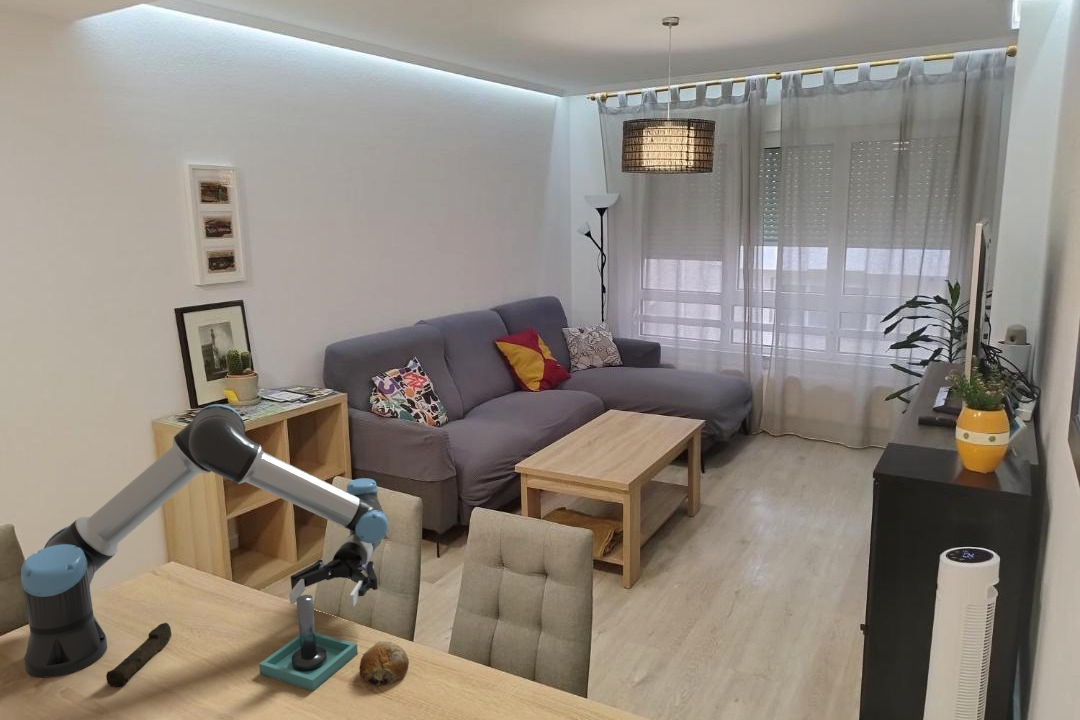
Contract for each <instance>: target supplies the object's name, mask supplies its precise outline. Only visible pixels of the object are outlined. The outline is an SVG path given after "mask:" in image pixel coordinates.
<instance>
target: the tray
mask: <svg viewBox="0 0 1080 720" xmlns="http://www.w3.org/2000/svg"><path fill="white" fill-rule="evenodd" d="M315 635H316V646H319V647H322V648H324V649H325V650H326V655H327V661H326V663H325V664H324V665H323V666H322V667H320V668H318V669H316V670H313V671H307V672H302V671H297V670H295V669H294V668H293V666H292V656H293V654H294V653H295V652H296V651H298V650H299V649H300V637H299V634H298V635H296V636H295V637H294V638H293V639H291V640H290V641H288V642H287V643H286V644H284V645H283V646H282V647H280V648H279V649H277V650H276V651H275V652H273V653H271V654H270V655H269V656H268V657H266V658H265V659H264V660H262V661H261V662H259V664H258V665H259V666H258V667H259V674H260V675H262V676H265V677H269V678H271V679H274V680H278V681H279V682H280V681H281V682H284V683H287V684H289V685H293V686H296V687H300V688H303V689H306V690H309V691H312V692H314V691H315V690H316V689H318V688H319V687H320V686H322V685H323V684H324V683H325V682H326V681H328V680H329V679H330V678H331V677H333V676H334V674H336V673H337V672H338V671H340V670H341V669H342V668H343V667H344V666H345V665H347V664H348V663H349V662H350V661H351V660H353V659H354V658H356V656H358V654H359V652H358V644H357V643H355V642H351V641H347V640H344V639H341V638H336V637H333V636H330V635H327V634H322V633H319V632H316V631H315Z"/></svg>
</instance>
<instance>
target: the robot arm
mask: <svg viewBox="0 0 1080 720" xmlns="http://www.w3.org/2000/svg"><path fill="white" fill-rule="evenodd" d="M211 472H212V473H214V474H217V475H218V476H221V477H222V478H225V479H227V480H230V481H232V482H234V483H236V484H238V485H240V484H243V483H247V484H249V485H252V486H253V487H256V488H259V489H260V490H263V491H265V492H266V493H269V494H271V495H274V496H276V497H277V498H280V499H282V500H284V501H286V502H289V503H291V504H293V505H295V506H298V507H299V508H301V509H304V510H306V511H308V512H309V513H313V514H314V515H317V516H319V517H321V518H324V519H325V520H327V521H329V522H332V523H334V524H336V525H338V526H341V527H343V528H346V529H348V530H349V535H348V537H347V538H346V539H345V541H344V542H343V543H342V544H341V546H340V547H339V548H338V550H337V551H336V553H335V554H334V555H333V558H332V560H331V561H329V562H328V563H327V562H326V563H325V562H323V559H317V561H316V562H314V563H313V564H312V565H310V566H307V567H306V568H303V569H301V570H300V571H297V572H296V573H294V574H292V575H291V576H290V586H291V590H290V592H289V605H295V603H297V601H296V599H297V598H298V597H300V596H302V595H303V593H304V592H305V591H306V587H310V586H312V585H314V584H317V583H320V582H322V581H331V580H333V579H338V578H339V579H340V578H341V579H342V578H343V579H347V578H349V579H350V580H351V581H352V582H355V583H356V585H355V586H354V588H353V589H352V591H351V592H350V594H349V599H350V601H349V603H350V607H355V605H356V604H357V603H358V601H359V599H360V598H361V597H364V596H365V595H366V594H367V592H368V591H369V590H370V589H372V590H373V591H377V590H378V589H379V588H378V586H379V585H378V578H377V577H378V576H377V575H376V572H375V570H374V569H375V568H374V567H375V565H374V561H372V560H370V559H371V557H372V555H373V554H374V552H375V551H376V549H377V548H378V547H379V546H380V545H381V543H382V540H383V539H384V538H385V537H386V535H387V532H388V530H389V523H388V518H387V515H386V513H385V512H384V510H383V508H382V505H381V503H380V500H379V499H378V492H379V490H378V488H377V482H376V481H375V480H374V479H371V478H368V477H367V478H357V479H353V480H351V481H349V482H348V484H347V485H346V491H345V490H344V489H341V488H339V487H338V486H335V485H333V484H331V483H329V482H327V481H324V480H323V479H320V478H318V477H317V476H314V475H312V474H311V473H308V472H306V471H304V470H302V469H300V468H298V467H296V466H294V465H292V464H289V463H288V462H286V461H283V460H281V459H280V458H277V457H275V456H273V455H271V454H269V453H267V452H265V451H264V450H263V448H262V445H261V444H259V443H257V442H255V441H253V440H251V439H250V438H249V437H247V436H246V425H245V421H244V420H243V418H242V416H241V414H240V413H239V412H238V411H237V410H236V409H235V408H234V407H233V408H232V407H231V406H228V405H226V404H219V403H215V404H209V405H208V406H205V407H203V408H202V409H200V410H199V411H197V412H196V414H194V416H193V419H192V420H191V422H189V423H188V424H187V425H186V426H184V428H182V429H181V430H180V431H179V432H177V434H175V435H174V436H173V439H172V447H170V448H169V449H168V450H167V451H166V452H165V453H164V454H162V455H161V456H160V457H158V458H157V459H156V460H155V461H154V462H153V463H152V464H151V465H149V466H148V467H147V468H146V469H145V470H144V471H143V472H141V473H140V474H139V475H137V477H135V478H134V479H133V480H132V481H131V482H129V483H128V484H127V485H126V486H125V487H124V488H122V489H121V490H120V491H119V492H117V494H115V495H114V496H113V497H111V499H109V501H107V502H106V503H105V504H104V505H103V506H101V507H100V508H99V509H98V510H97V511H95V512H94V513H93V514H92V515H91V516H79V517H78V518H77V519H76V520H74V521H73V522H72V523H71V524H70V525H68V526H65V527H64V528H61V529H59V530H58V531H57V532H55V533H54V534H53V535H52V536H51V537H50V538H49V539H48V540H47V542H46V543H45V545H44V547H43V548H42V549H40V550H38V551H37V553H32V554H30V556H28V557H27V558H26V559H25V560H24V562H23V564H22V565H21V569H20V572H21V573H20V574H21V575H20V581H21V582H20V583H21V586H22V590H23V596H24V602H25V607H26V613H27V619H28V620H27V621H28V625H29V632H30V633H29V637H28V642H27V646H26V651H25V656H24V666H25V670H26V672H27V673H28V674H30V675H31V676H34V677H38V678H51V677H52V678H53V677H60V676H65V675H68V674H72V673H75V672H77V671H79V670H82V669H85V668H86V667H89V666H90V665H93V664H94V663H95V662H97V661H98V660H99V659H101V658H102V657H103V656H104V655H105V653H106V652H107V651H108V641H107V636H106V634H105V632H104V630H103V629H102V627H101V625H100V624H99V622H98V620H97V619H96V617H95V615H94V609H93V602H92V596H91V583H92V580H93V579H94V575H95V573H96V572H97V571H98V570H99V569H100V568H101V567H103V566H104V565H105V564H106V563H107V562H109V560H111V559H112V558H113V557H114V556H115V555H117V554H118V551H119V550H118V549H119V543H120V542H121V541H122V540H124V538H126V537H127V536H128V535H129V534H131V533H132V532H133V531H134V530H135V529H136V528H138V526H139V525H141V524H143V523H144V522H145V520H147V519H148V518H149V517H151V515H152V514H153V513H155V512H156V511H157V510H158V509H160V508H161V507H162V506H163V505H165V503H166V502H167V501H169V500H170V499H171V498H172V497H173V496H174V495H175V494H177V493H178V492H179V491H180V490H181V489H182V488H184V487H185V486H186V485H187V484H188V483H190V481H192V480H193V479H194V478H195V477H197V476H198V475H199V474H211ZM369 560H370V561H369ZM363 571H364V573H365V575H367V576H365V575H364V573H362V572H363Z"/></svg>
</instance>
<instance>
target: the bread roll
mask: <svg viewBox="0 0 1080 720" xmlns="http://www.w3.org/2000/svg"><path fill="white" fill-rule="evenodd" d="M409 663H410V660H409V657H408V654H407V653H406V651H405V650H404V648H402V647H401V646H400V645H398V644H396V643H395V642H392V641H386V640H385V641H381V640H380V641H378V642H377V643H375V644H374V645H372V646H371V647H370V648H369V649H368V650H366V651H365V652H364V653H363V655H362V657H361V658H360V662H359V668H358V669H359V677H360V678H361V680H362V681H363V682H364V683H366V684H369V685H372V686H377V687H382V686H387V685H390V684H393V683H395V682H397V681H400V680H402V678H404V677H405V676H406V674H407V671H408V669H409V665H410V664H409Z"/></svg>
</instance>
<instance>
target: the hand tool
mask: <svg viewBox="0 0 1080 720" xmlns="http://www.w3.org/2000/svg"><path fill="white" fill-rule="evenodd" d="M171 638H172V629H171V626H170V624H169V623H167V622H162V623H160V624H159V625H157V626H156V627H155V628H153V629H152V630H151V631H149V633H148V637H147V639H146V640H145V641H144V642H142V643H141V644H140V645H139V646H138V647H137V648H136V649H135V650H134V651H132V652H131V653H130V654H129V655H128V656H127V657H126V658H124V659H123V660H122V661H121V662H120V663H119V664H118V665H117V666H115V667H114V669H112V670H109V671H107V672H106V675H105V676H106V683H107V685H109V687H111V688H113V687H114V688H123V687H125V685H126V683H128V682H130V681H129V680H130V678H131V677H132V676H133V675H134V674H135V673H136V672H137V671H138V670H139V669H140V668H141V667H143V666H144V665H145V664H146V663H147V662H148V661H149V660H150V659H151V658H152V657H153V656H154V655H155V654H156V653H157V652H158V653H159V652H161V651H163V650H164V649H165V647H166V646H167V645H168V644H169V642H170V639H171Z"/></svg>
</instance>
